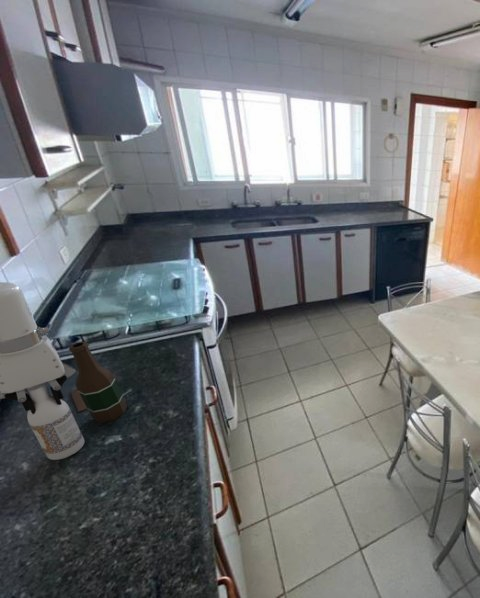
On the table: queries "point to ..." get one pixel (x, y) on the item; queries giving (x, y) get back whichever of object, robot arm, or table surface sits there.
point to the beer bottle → (97, 386)
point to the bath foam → (53, 424)
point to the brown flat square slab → (79, 400)
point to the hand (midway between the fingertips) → (46, 405)
